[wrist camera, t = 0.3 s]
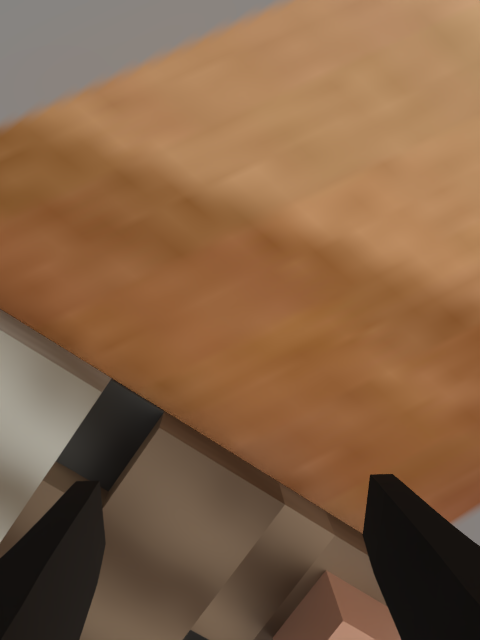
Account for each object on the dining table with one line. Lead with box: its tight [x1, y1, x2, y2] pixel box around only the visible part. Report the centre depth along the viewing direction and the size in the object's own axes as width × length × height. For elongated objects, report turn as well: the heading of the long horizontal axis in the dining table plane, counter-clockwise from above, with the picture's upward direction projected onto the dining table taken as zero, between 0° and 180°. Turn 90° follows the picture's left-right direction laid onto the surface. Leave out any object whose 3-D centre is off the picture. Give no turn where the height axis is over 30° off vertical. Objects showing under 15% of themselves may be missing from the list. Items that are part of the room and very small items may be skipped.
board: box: [0, 309, 387, 640], centre depth 22 cm, size 14×26×4 cm, turn 55°
